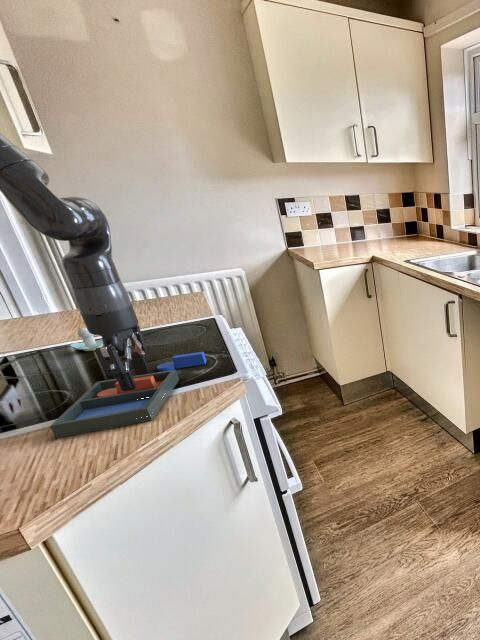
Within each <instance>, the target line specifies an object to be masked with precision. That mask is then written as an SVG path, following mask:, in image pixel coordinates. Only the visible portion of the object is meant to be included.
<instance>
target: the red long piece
mask: <svg viewBox="0 0 480 640" xmlns="http://www.w3.org/2000/svg"><path fill="white" fill-rule="evenodd" d="M133 379H134V381H135V384H136V388H135V389H134V390H129V391H122V390H121V387H120V385H119V383H118V381H117V382H116V383H115V386H116V388H110V389H106V390H104V391H101V392H99V393H98V394H97V396H98V398H99V397H105V396H111V395H117V394H123V393H129V392H135V391H141V390H147V389H153V388H157V384H156V382H155V379H154V377H153V376H146V377H140V378H133Z"/></svg>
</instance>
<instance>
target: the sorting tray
mask: <svg viewBox="0 0 480 640" xmlns="http://www.w3.org/2000/svg"><path fill="white" fill-rule="evenodd" d="M132 376H133V378H140V377H146V376H153V377H154V379H155V382H156V384H157V388H153V389H147V390H141V391H135V392H129V393H123V394H117V395H111V396H105V397H99V398H98V396H97V394H98V393H99V392H101V391H104V390H106V389H110V388H116V386H115V383H116V382H117V381H118V380H117V378H113V379H106V380H100V381H96V382H95V383H94V384H93V385H92V386H91V387H90V388H89V389H88V390H86V391H85V392H84V393H83V394H82V395H81V396H80V397H79V398H78V399H77V400H76V401H75V402H73V404H72V405H70V406H69V407H68V408H67V409H66V410H65V411H64V412H63V413H62V414H61V415H60V416H58V418H56V419H55V420H54V422H52V423H51V424H50V425H49V428H50V430H51V432H52V434H53V435H54V437H55V439H59V438H65V437H70V436H75V435H76V436H77V435H81V434H86V433H91V432H97V431H104V430H109V429H112V428H118V427H119V428H120V427H123V426H124V427H125V426H129V425H134V424H139V423H146V422H151V421H153V420H154V418H155V416H156V415H157V414H158V412H159V411H160V409H161V408H162V407H163V404H164V403H165V402H166V400H167V399H168V397H169V396H170V394H171V393H172V392H173V390H174V389H175V387H176V386H177V384H178V383H179V381H180V378H179V375H178V372H177V369H174V370H170V371H164V372H158V371H157V372H152V373H148V374H144V375H132ZM165 393H166V394H165ZM164 394H165V395H164ZM163 396H164V397H163ZM146 397H149V398H146ZM162 397H163V398H162ZM141 398H144V399H141ZM137 399H138V400H137ZM161 399H162V400H161ZM159 402H160V403H159ZM152 412H153V413H152ZM150 415H151V416H150ZM146 416H148V417H146ZM141 417H142V418H141ZM136 418H137V419H136Z"/></svg>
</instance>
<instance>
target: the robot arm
mask: <svg viewBox="0 0 480 640" xmlns="http://www.w3.org/2000/svg"><path fill="white" fill-rule="evenodd" d="M49 184H50V176H49V174H48V173H47V171H46V170H45V169H44V168H43V167H42V166H40V165H39V164H38V163H36V162H35V160H33V159H32V158H31V157H30V156H28V155H27V154H26V153H25V152H24V151H22V150H21V148H19V147H18V146H16V145H15V144H14V143H13V142H11V140H9V139H8V138H7V137H6V136H4V135H3V134H2V133H1V132H0V193H1V194H2V195H3V197H4V198H5V199H6V200H7V202H8V204H10V206H11V207H12V208H13V209H14V210H15V211H16V213H18V215H19V216H20V217H21V218H22V219H23V220H24V222H26V223H27V225H29V226H30V227H31V228H32V229H33V230H35V231H36V232H38V233H40V234H41V235H43V236H45V237H47V238H49V239H51V240H56V241H60V242H68V247H69V250H68V252H66V254H65V255H63V256H62V257H61V260H60V263H61V266H62V270H63V272H64V274H65V276H66V279H67V280H68V283H69V286H70V288H71V291H72V295H73V299H74V302H75V304H76V307H77V308H78V312H79V313H80V315H81V318H82V320H83V322H84V325H85V328H87V329H88V332H89V333H91V334H93V335H94V336H100V337H101V339H102V340H103V346H102V347H99V348H96V349H95V350H94V351H95V354H96V356H97V358H98V360H99V362H100V365H101V366H102V369H103V371H104V373H105V375H106V376H107V377H112V376H115V379H117V380H118V383H119V385H120V387H121V390H122V391H129V390H134V389H135V388H136V384H135V381H134V379H133V376H134V375H132V372H131V370H130V369H131V368H130V363H131V367H132V369H133V371H134V373H135V376H138V375H144V374H150V369H149V367H148V366H149V365H148V364H147V361H146V358H145V357H146V353H145V352H147V350H148V347H147V344H146V342H145V339H144V336H143V333H142V331H141V328H140V325H139V323H140V322H139V319H138V316H137V314H136V311H135V308H134V306H133V304H132V301H131V298H130V296H129V293H128V290H127V289H126V287H125V286H124V284H123V282H122V280H121V277H120V274H119V272H118V268H117V267H116V264H115V262H114V259H113V246H112V245H113V244H112V238H111V229H110V225H109V222H108V221H109V220H108V219H107V217H106V215H105V213H104V211H103V210H102V209H101V208H100V206H98V205H97V204H96V203H95V202H93V201H91V200H90V199H89V198H85V197H81V196H67V197H59V196H58V195H56V194H55V193H54V192H53V191H52V190H51V189H50V188H49V187H48V186H49Z"/></svg>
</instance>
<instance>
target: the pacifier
mask: <svg viewBox="0 0 480 640" xmlns="http://www.w3.org/2000/svg"><path fill="white" fill-rule="evenodd" d="M77 335H78V337H80V338H81V339H82V341H83V342H73V343H70V347H71V348H73V349H76V350H78V351H79V350H81V351H83V352H92V351H95V349H96V348H99V347H103V340H102V338H101V339H98V340H96V339H95V337H94V336H95V335H93V334H91V333H89V332H88V329H87V327H82V328H79V329H78V331H77Z"/></svg>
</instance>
